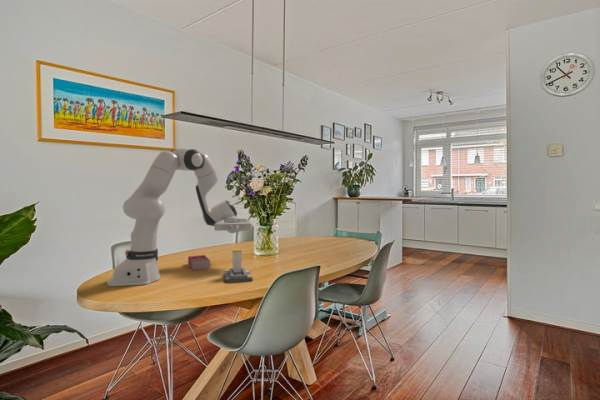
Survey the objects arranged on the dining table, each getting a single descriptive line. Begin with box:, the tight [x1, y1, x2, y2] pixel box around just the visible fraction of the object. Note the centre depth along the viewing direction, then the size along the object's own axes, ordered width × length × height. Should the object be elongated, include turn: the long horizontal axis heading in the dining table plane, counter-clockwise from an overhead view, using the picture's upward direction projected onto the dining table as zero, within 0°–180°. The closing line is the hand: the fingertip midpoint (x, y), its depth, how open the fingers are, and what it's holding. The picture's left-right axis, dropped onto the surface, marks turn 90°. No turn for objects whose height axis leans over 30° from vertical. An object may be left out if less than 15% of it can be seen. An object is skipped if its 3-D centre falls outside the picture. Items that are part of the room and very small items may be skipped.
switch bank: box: [223, 267, 253, 283], centre depth 171 cm, size 12×16×3 cm
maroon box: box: [187, 254, 211, 271], centre depth 195 cm, size 9×5×20 cm
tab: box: [231, 248, 242, 273], centre depth 175 cm, size 4×4×11 cm
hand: (234, 228), depth 186 cm, fingers closed
